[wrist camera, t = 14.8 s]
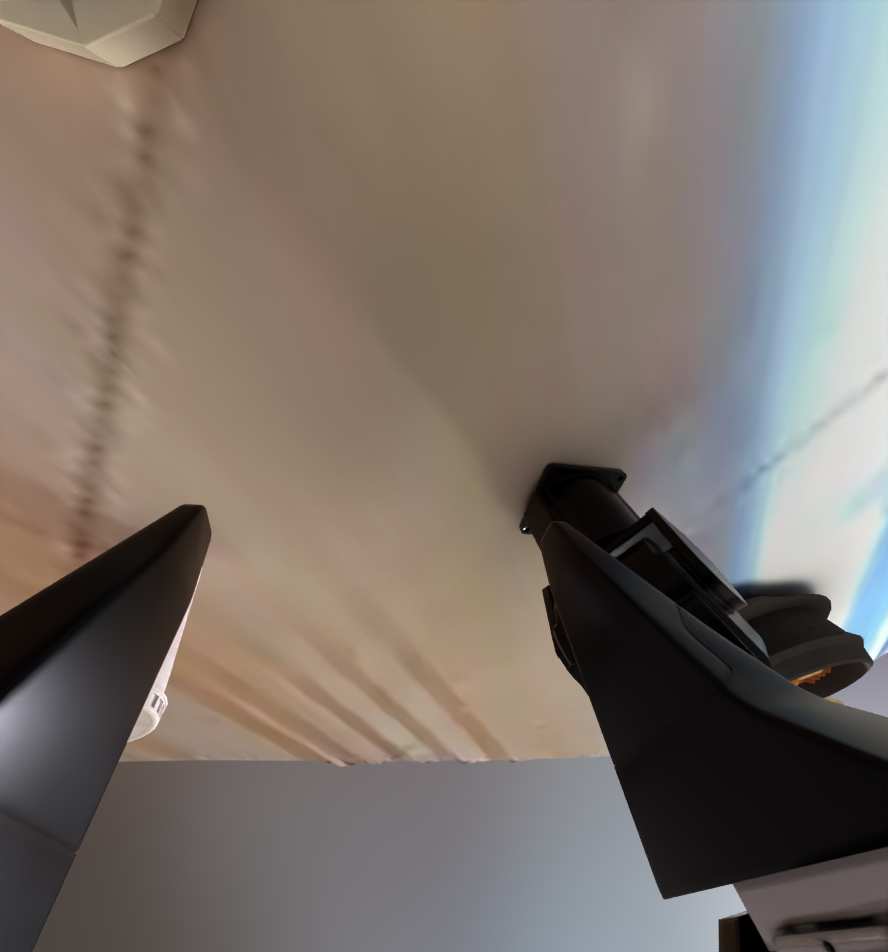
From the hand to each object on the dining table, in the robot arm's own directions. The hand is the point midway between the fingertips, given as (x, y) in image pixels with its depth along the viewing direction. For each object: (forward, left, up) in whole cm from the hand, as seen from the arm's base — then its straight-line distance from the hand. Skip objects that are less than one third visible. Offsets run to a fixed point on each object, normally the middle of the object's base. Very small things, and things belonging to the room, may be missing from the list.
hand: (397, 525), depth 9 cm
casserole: (-50, +27, -12) cm, 58 cm away
